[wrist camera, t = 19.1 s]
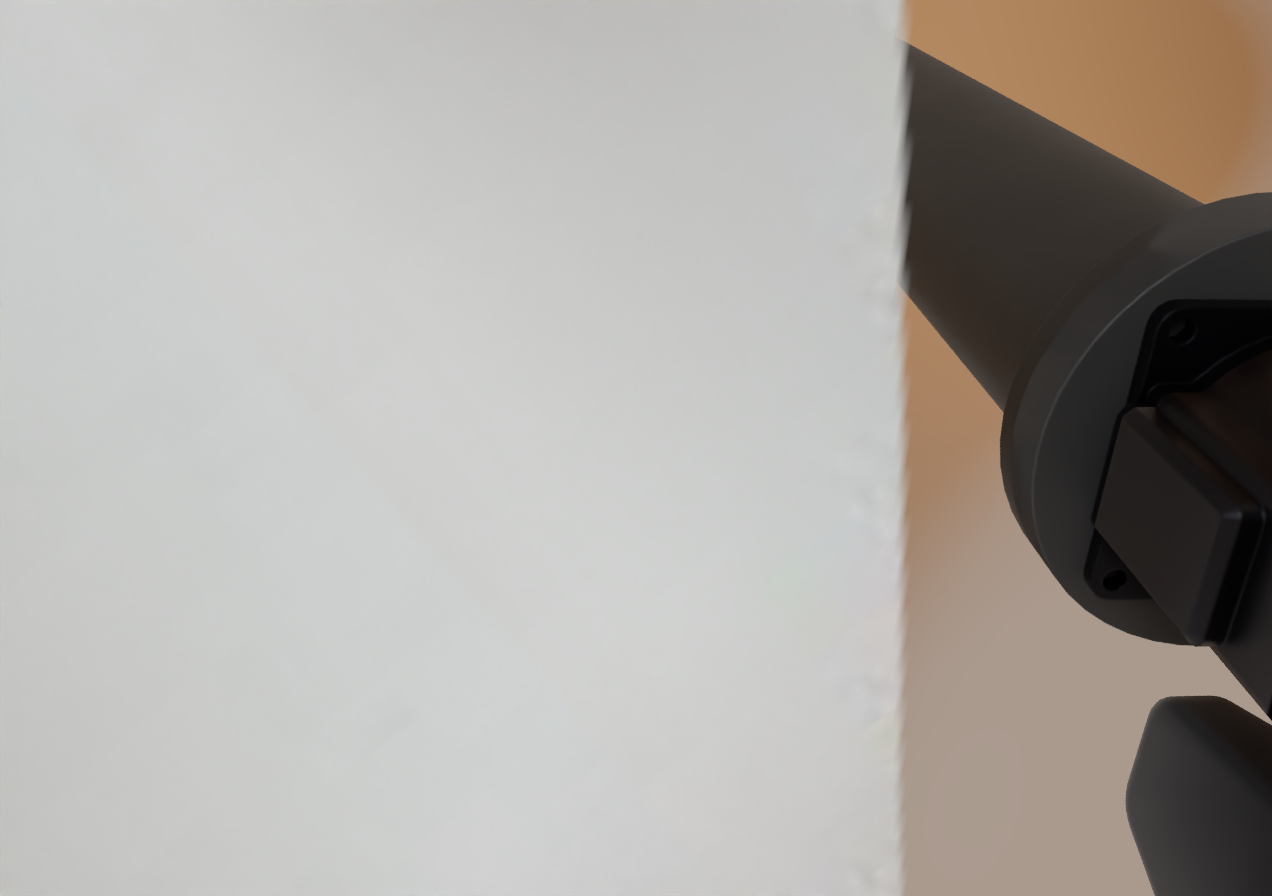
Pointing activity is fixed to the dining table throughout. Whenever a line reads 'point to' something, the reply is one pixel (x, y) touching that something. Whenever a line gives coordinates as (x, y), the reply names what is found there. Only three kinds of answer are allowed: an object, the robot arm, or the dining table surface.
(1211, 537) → the robot arm
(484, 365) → the dining table surface
